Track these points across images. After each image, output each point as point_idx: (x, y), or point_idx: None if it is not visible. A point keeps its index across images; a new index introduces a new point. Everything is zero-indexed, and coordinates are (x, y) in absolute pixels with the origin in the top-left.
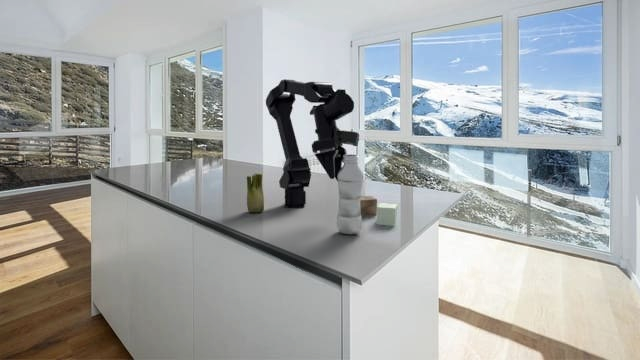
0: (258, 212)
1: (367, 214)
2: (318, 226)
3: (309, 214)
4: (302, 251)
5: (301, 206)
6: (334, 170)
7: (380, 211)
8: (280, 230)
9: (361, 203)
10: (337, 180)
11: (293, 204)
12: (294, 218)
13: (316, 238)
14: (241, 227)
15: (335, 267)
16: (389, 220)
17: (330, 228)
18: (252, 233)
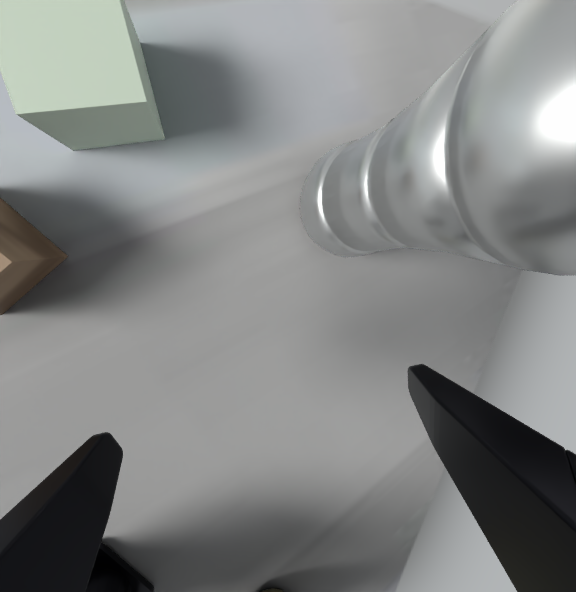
0: (278, 589)
1: (32, 229)
2: (314, 338)
3: (188, 454)
4: None
5: (107, 550)
6: (464, 411)
7: (145, 89)
8: (399, 409)
9: (26, 260)
10: (120, 454)
11: (123, 583)
12: (269, 460)
13: (421, 279)
14: (418, 506)
15: None
16: (141, 57)
17: (315, 290)
18: None
